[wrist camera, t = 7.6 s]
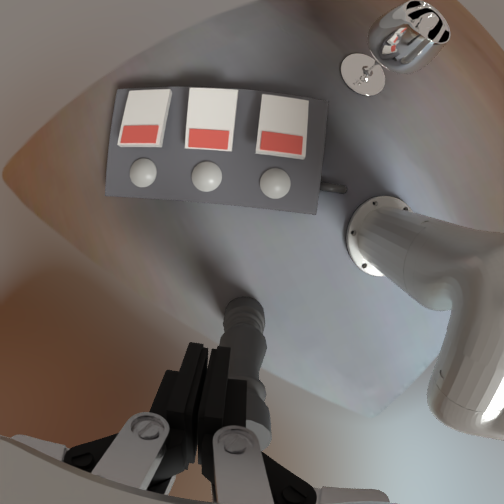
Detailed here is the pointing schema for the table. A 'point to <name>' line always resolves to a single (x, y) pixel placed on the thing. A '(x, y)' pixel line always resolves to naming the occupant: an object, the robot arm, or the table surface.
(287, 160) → the power strip
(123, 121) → the rocker
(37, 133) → the table surface
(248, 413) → the candle holder
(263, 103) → the rocker
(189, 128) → the rocker
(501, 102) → the table surface
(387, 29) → the wineglass
